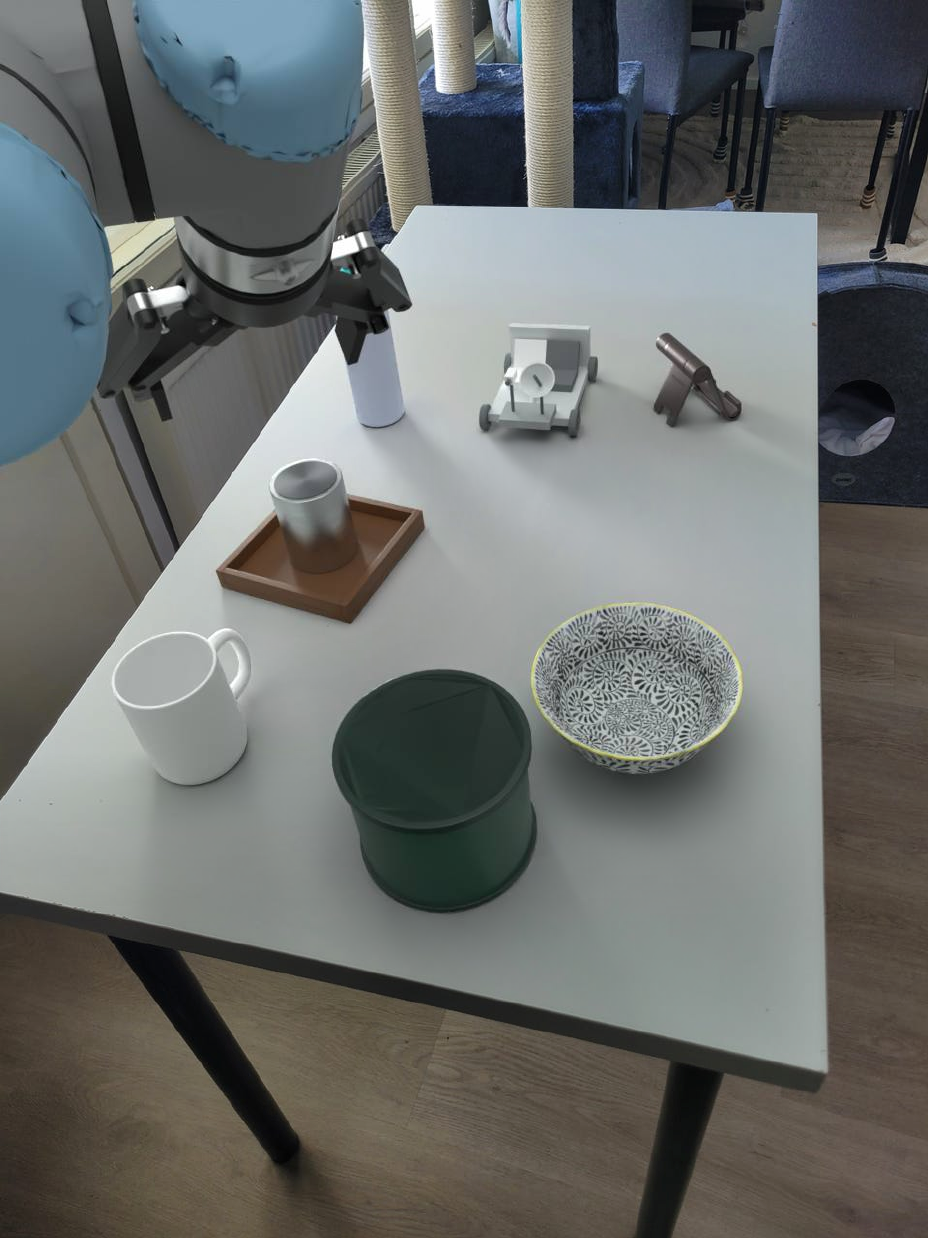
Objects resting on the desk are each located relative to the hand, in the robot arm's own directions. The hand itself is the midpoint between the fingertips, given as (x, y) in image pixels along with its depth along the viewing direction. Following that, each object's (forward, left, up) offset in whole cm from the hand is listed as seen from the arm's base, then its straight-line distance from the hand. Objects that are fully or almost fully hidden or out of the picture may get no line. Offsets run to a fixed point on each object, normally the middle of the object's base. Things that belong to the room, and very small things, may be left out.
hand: (255, 373), depth 65 cm
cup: (-5, -11, -30) cm, 32 cm away
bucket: (+18, -13, -29) cm, 37 cm away
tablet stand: (+19, +51, -30) cm, 61 cm away
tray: (-9, +13, -29) cm, 33 cm away
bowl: (+28, +2, -30) cm, 41 cm away
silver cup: (-9, +13, -29) cm, 33 cm away
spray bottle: (-17, +39, -30) cm, 52 cm away
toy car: (+1, +46, -30) cm, 54 cm away
